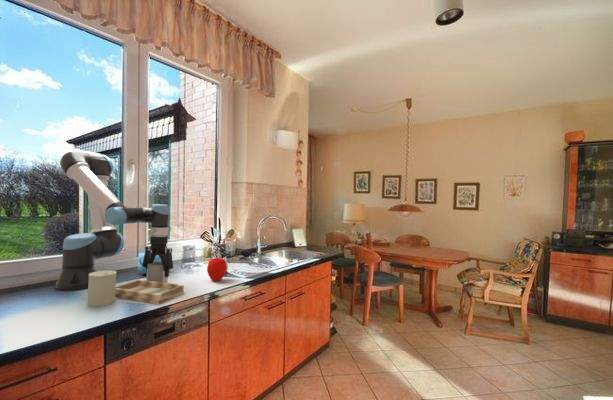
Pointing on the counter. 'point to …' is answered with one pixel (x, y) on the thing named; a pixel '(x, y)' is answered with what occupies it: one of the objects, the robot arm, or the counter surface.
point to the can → (101, 288)
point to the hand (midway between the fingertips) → (156, 282)
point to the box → (148, 291)
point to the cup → (155, 271)
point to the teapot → (140, 262)
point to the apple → (216, 268)
